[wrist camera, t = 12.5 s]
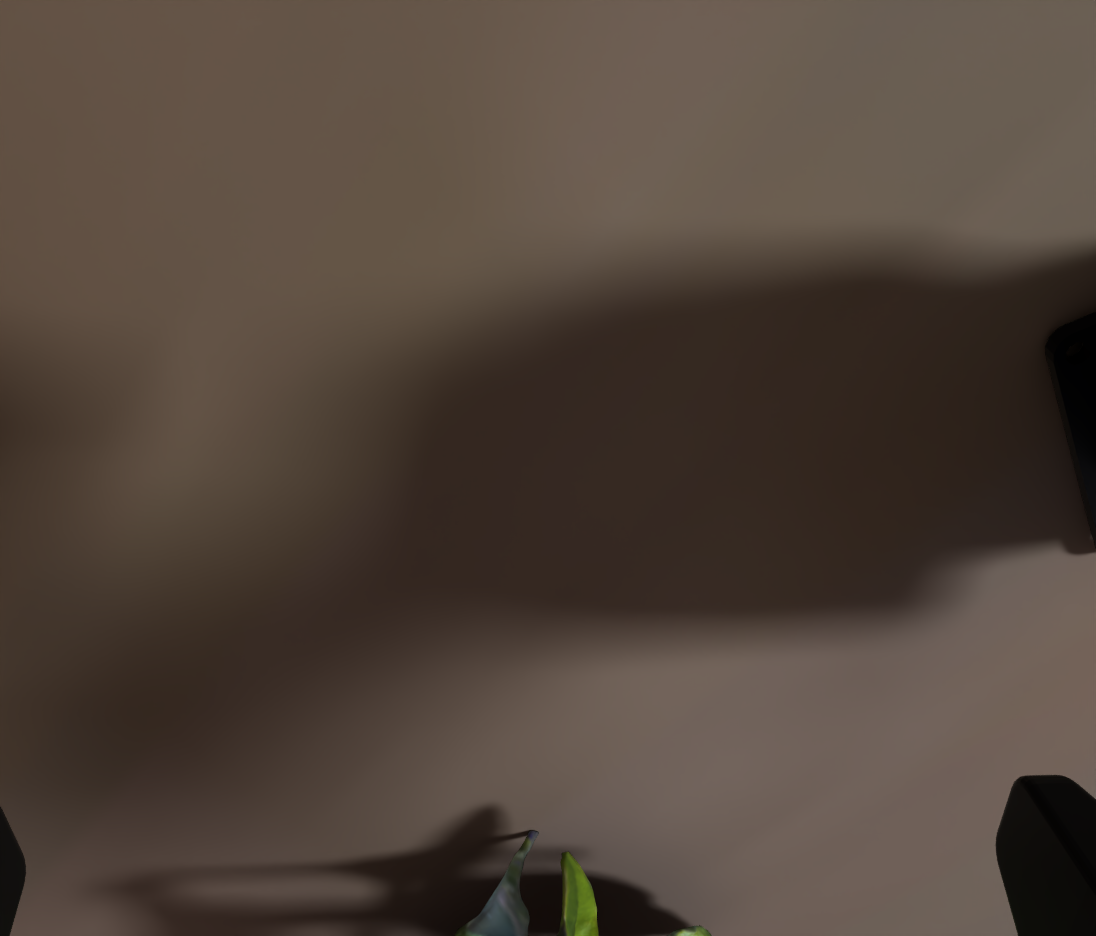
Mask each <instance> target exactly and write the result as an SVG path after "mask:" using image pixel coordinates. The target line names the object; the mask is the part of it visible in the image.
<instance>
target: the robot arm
mask: <svg viewBox="0 0 1096 936" xmlns="http://www.w3.org/2000/svg"><path fill="white" fill-rule="evenodd" d="M1078 342H1083V346H1082V347H1081V349H1080V350H1079V351H1078V352H1077V353H1075V354H1073V355H1070V356H1066V352H1067V351H1068V349H1069V348H1070V347H1071V346H1072V345H1074V344H1075V343H1078ZM1045 355H1046V359H1047V363H1048V367H1049V371H1050V374H1051V378H1052V382H1053V386H1054V390H1055V394H1056V398H1057V402H1058V405H1059V409H1060V413H1061V417H1062V421H1063V425H1064V429H1065V433H1066V437H1067V440H1068V444H1069V448H1070V452H1071V456H1072V460H1073V464H1074V468H1075V471H1076V475H1077V479H1078V483H1079V487H1080V491H1081V495H1082V499H1083V502H1084V506H1085V510H1086V514H1087V518H1088V522H1089V526H1090V530H1091V534H1092V537H1093V541H1094V545H1095V548H1096V312H1095V313H1092V314H1090V315H1087V316H1085V317H1082V318H1080V319H1077V320H1075V321H1073V322H1070V323H1068V324H1065V325H1063V326H1062V327H1060V328H1058V329H1057V330H1055V332H1054V333H1053V334H1052V335H1051V336H1050V337H1049V339H1048V341H1047V343H1046V346H1045ZM996 855H997V861H998V865H999V869H1000V872H1001V876H1002V880H1003V883H1004V887H1005V890H1006V894H1007V897H1008V901H1009V905H1010V908H1011V912H1012V915H1013V919H1014V923H1015V926H1016V930H1017V933H1018V936H1096V799H1095V798H1094V797H1092V796H1091V795H1090V794H1089V793H1088V792H1086V791H1085V790H1084V789H1083V788H1082V787H1081V786H1079V785H1078V784H1077V783H1076V782H1074V781H1073V780H1071V779H1069V778H1067V777H1065V776H1061V775H1029V776H1021V777H1019V778H1018V779H1017V780H1016V781H1015V782H1014V784H1013V786H1012V788H1011V791H1010V794H1009V798H1008V801H1007V804H1006V807H1005V810H1004V813H1003V816H1002V819H1001V822H1000V825H999V828H998V832H997V836H996ZM25 875H26V865H25V859H24V855H23V853H22V851H21V848H20V846H19V844H18V842H17V840H16V838H15V836H14V833H13V831H12V829H11V827H10V825H9V823H8V821H7V818H6V816H5V814H4V812H3V810H2V808H1V807H0V936H10V932H11V929H12V925H13V922H14V918H15V915H16V911H17V908H18V904H19V901H20V897H21V894H22V890H23V887H24V882H25Z"/></svg>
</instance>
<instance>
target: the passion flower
mask: <svg viewBox="0 0 1096 936" xmlns="http://www.w3.org/2000/svg"><path fill="white" fill-rule="evenodd" d="M538 834H539V832H536V831H529V833H528V835H527V837H526V839H525V841H524V843H523V844H522V846H521V848H520V849H519V851H518V852H517V853H516V854H515V856H514V857H513V859H512V861H511V863H510V865H509V867H508V869H507V871H506V873H505V875H504V877H503V879H502V880H501V882H500V883H499V885H498V887H497V888H496V890H495V891H494V893H493V894H492V896H491V897H490V899H489V901H488V902H487V904H486V905H485V907H484V908H483V910H482V912H481V913H480V914H479V915H478V916H477V917H476V918H474V919H472V920H471V921H470V922H468V923H467V924H465V925H464V926H463V927H461V928H459V929H458V930H457V932H456V934H455V935H454V936H528V925H529V921H530V917H529V913H528V910H527V908H526V906H525V905H524V903H523V901H522V898H521V894H520V884H519V883H520V877H521V872H522V868H523V863H524V859H525V857H526V855H527V853H528V852H529V850H530V849H531V847H532V845H533V843H534V841H535V839H536V837H537V836H538ZM560 863H561V869H562V882H563V896H562V917H561V923H560V930H559V933H558V935H557V936H599V933H598V925H597V907H596V903H595V898H594V893H593V890H592V887H591V884H590V882H589V881H588V879H587V877H586V875H585V873H584V871H583V870H582V868H581V867H580V865H579V864H578V862H577V861H576V860H575V858H574V857H573V856H572V855H571V854H570V853H569V852H564V853H562V860H561V862H560ZM667 936H711V934H710V933H709V932H708V930H706V929H704V928H703V927H702V926H700V925H699V926H692V927H687V928H683V929H678V930H675V931H674V932H672V933H671V934H669V935H667Z"/></svg>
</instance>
